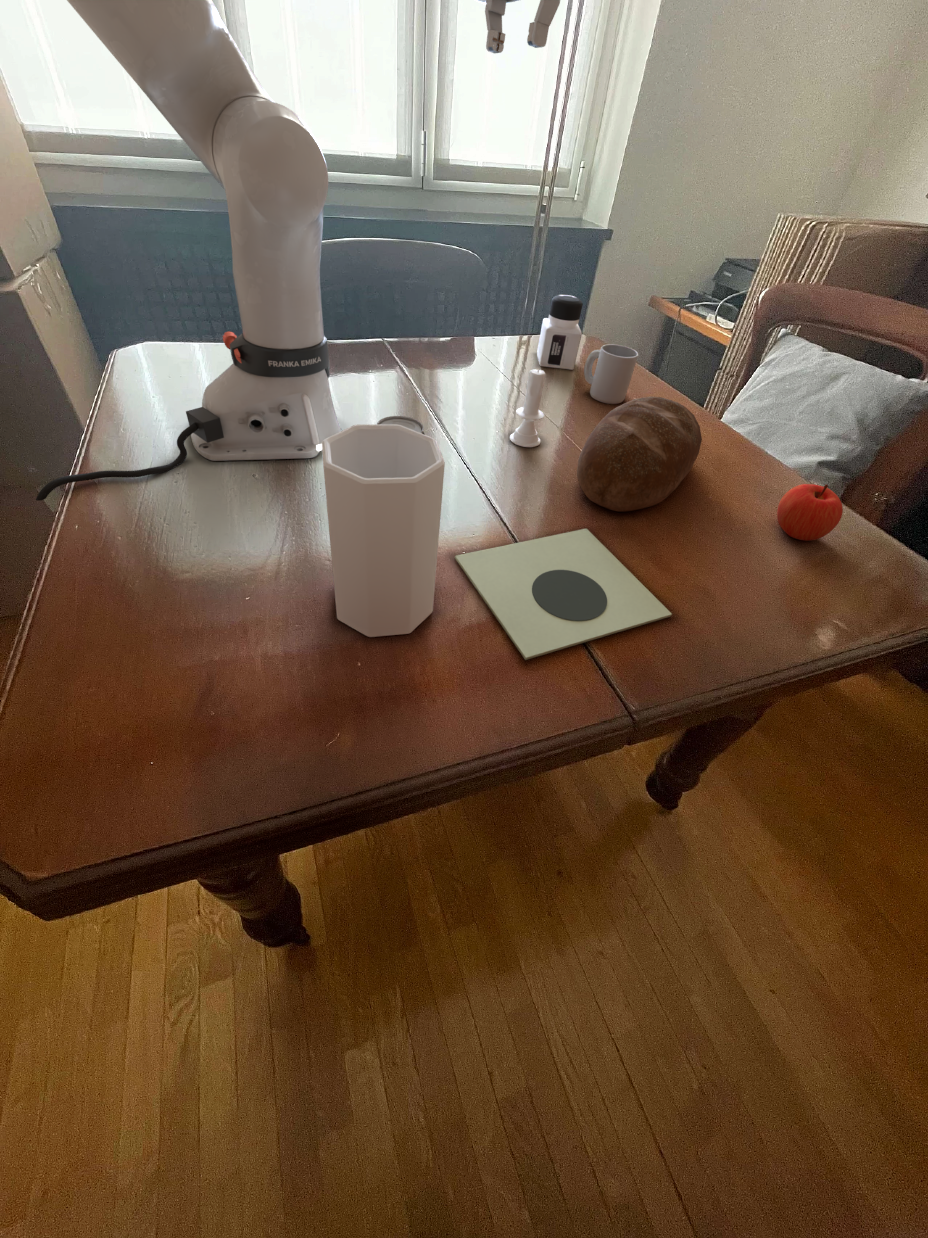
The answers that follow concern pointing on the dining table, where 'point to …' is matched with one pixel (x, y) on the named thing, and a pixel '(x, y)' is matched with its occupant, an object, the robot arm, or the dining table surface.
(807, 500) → the apple
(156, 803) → the dining table surface
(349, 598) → the cup
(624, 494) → the bread
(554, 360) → the container
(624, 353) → the cup
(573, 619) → the mat
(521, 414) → the candle
